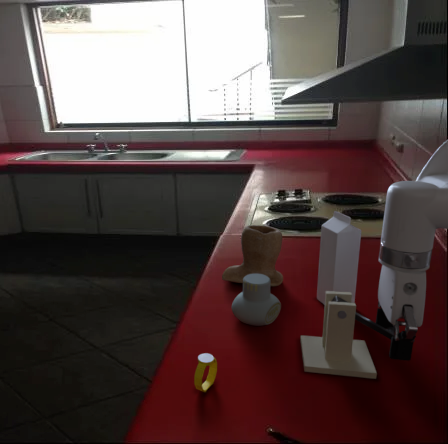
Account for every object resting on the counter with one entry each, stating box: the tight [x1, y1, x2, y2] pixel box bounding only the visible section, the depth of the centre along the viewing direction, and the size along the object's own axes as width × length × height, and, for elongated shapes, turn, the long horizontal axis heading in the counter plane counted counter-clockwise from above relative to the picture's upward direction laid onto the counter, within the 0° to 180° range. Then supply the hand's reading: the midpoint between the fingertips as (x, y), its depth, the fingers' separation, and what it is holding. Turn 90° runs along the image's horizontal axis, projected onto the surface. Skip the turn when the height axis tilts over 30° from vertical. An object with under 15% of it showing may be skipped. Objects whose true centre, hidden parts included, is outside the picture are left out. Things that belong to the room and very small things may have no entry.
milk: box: [316, 210, 362, 306], centre depth 95 cm, size 6×6×22 cm
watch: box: [193, 352, 218, 393], centre depth 73 cm, size 6×3×6 cm, turn 146°
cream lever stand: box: [299, 291, 378, 380], centre depth 77 cm, size 12×10×13 cm
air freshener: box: [231, 274, 282, 327], centre depth 92 cm, size 11×8×10 cm
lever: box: [331, 296, 394, 341], centre depth 76 cm, size 13×5×2 cm
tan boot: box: [221, 224, 284, 287], centre depth 110 cm, size 15×12×15 cm
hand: (391, 342), depth 76 cm, fingers open, 9 cm apart
